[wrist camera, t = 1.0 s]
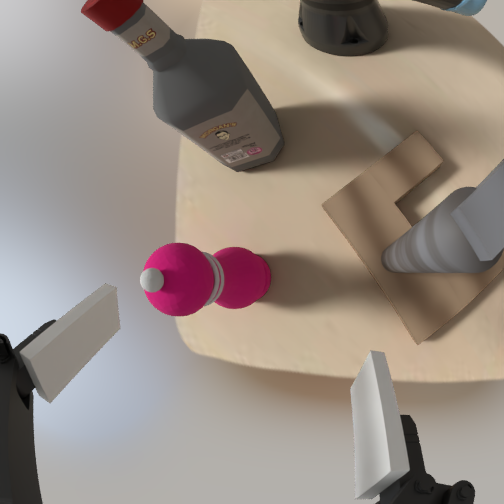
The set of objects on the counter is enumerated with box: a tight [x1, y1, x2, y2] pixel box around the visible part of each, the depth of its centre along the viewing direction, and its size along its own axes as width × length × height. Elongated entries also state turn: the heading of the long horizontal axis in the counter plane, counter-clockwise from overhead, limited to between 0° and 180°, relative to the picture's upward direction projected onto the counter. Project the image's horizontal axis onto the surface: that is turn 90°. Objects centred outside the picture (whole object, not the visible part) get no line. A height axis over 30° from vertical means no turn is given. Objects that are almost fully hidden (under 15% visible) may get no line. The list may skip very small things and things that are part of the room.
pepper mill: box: [140, 243, 271, 316], centre depth 28 cm, size 7×7×20 cm
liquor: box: [81, 0, 284, 172], centre depth 25 cm, size 9×9×30 cm
